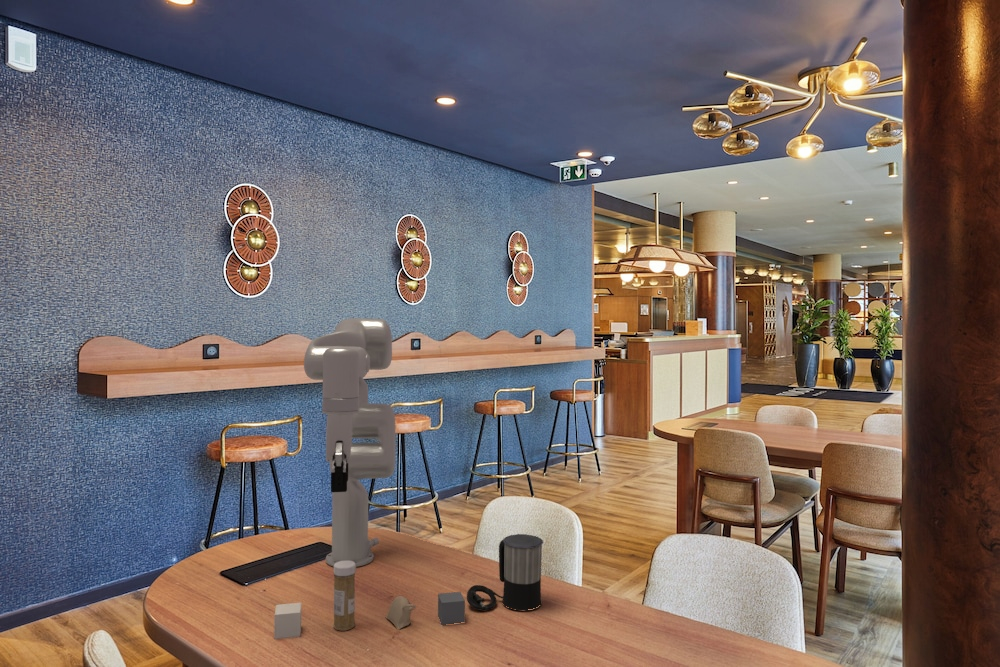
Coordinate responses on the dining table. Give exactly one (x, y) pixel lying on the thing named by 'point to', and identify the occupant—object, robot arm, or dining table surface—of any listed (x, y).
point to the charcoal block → (451, 608)
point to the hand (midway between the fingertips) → (339, 486)
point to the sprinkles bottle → (344, 595)
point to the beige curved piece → (400, 612)
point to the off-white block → (287, 620)
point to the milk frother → (515, 574)
